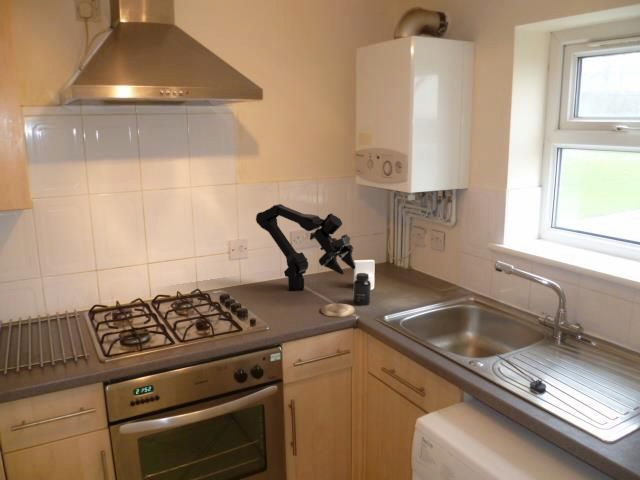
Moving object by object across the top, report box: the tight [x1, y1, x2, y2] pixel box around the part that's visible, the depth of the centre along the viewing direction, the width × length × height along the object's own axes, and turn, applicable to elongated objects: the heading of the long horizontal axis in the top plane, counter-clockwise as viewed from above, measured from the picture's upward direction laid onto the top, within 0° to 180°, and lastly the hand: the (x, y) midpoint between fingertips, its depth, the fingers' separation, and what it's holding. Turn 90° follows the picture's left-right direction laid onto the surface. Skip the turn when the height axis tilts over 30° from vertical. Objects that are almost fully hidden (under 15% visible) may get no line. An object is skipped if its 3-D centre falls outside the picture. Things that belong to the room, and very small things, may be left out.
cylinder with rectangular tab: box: [353, 259, 376, 290], centre depth 237 cm, size 9×9×12 cm
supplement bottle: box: [352, 273, 372, 306], centre depth 217 cm, size 7×7×12 cm
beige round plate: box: [320, 303, 356, 318], centre depth 209 cm, size 13×13×1 cm
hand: (348, 271), depth 219 cm, fingers open, 9 cm apart
